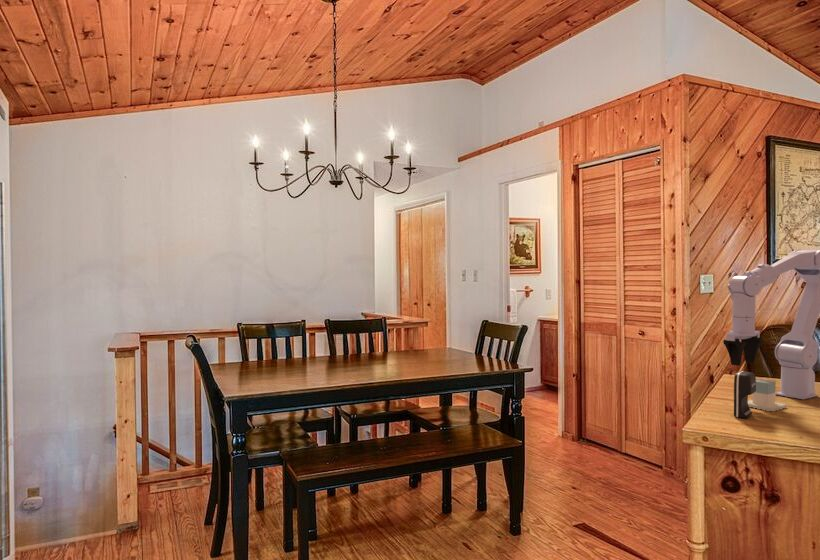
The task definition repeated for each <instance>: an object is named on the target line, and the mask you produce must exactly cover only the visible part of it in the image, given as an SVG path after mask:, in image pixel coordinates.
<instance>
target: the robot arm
mask: <svg viewBox="0 0 820 560" xmlns="http://www.w3.org/2000/svg"><path fill="white" fill-rule="evenodd" d="M791 270H794V271H795V272H796V274H797V275H798V276H799V277H800V278H801V279H803V280H804V282H805V287H804V290H803V293H802V296H801V299H800V302H799V306H798V308H797V311H796V315H795V317H794V321H793V323H792V326H791V330H790V331H789V332H788V333H786V334H784V335H783V336H781V338H780V341H779V343H778V344H777V345H776V346H775V348H774V356H775V359H776V360H777V361H778V364H779V365H780V391H775V396H781V397H787V398H793V399H799V400H807V399H811V398H814V397H815V398H816V397H818V396H819V394H818V393H816V392H815V391H816V374H815V371H814V369H813V366H815V365H816V363H817V361H818V357H819V355H818V353H819V352H818V351H819V347H820V345H819V343H818V342H817V341H816V340H815V339H814V338H813V336H814V333H815V329H816V326H817V323H818V320H819V318H820V249H795V250H794V251H791V252H789V253H788V254H787V255H786V256H783V258H781V259H779V260H777V261H776V262H774V263H773V264H771V265H770V264H767V263H759V264H758V265H757V266H756V268H754V269H752V270H747V271H745V272H744V274H742V275H735V276H733V277H732V278H731V279H730V281H729V283H728V284H727V289H728V292H729V294H730V299H731V301H732V308H731V309H732V312H731V313H732V314H731V316H732V317H731V318H732V321H731V322H732V323H731V326H732V328H731V330H728V331H727V333H726V334H725V335H726V337H725V338H726V339H723V340H722V341H723V344H724V347H725V348H726V351H727V352H728V355H729V360H730V365H731V366H739V367H740V366H741V364H742V358H743V356H744V361H745V363H747V364H748V363H749V364H754V363H755V361H756V358H757V355H758V352H759V349H760V347H761V345H762V344H763V342H764V339H763V338H760V337H761V336H760V335H761V331H760V330H756V296H757V295H759V294H760V293H761V289H763V288H765V287H767V286H769V285H771V284H773V283H774V282H777V279H778V276H780V275H782V274H784V273H787V272H789V271H791ZM743 354H744V355H743Z"/></svg>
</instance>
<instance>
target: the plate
mask: <svg viewBox="0 0 820 560" xmlns="http://www.w3.org/2000/svg"><path fill="white" fill-rule="evenodd" d="M748 406H749V408H750V407H754V408H753V409H755V408H757V409H756V410H760V409H762V410H761V411H765V410H766V411H765V412H770V411H773V412H775V411H776V410H777V411H780V410H784V409H787V404H785V403H781V402H780V403H779V402H776V401H775V404H772V405H768V406H767V405H762V404H757V403H752V399H748ZM783 408H784V409H783ZM779 409H780V410H779Z"/></svg>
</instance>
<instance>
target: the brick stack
mask: <svg viewBox="0 0 820 560" xmlns="http://www.w3.org/2000/svg"><path fill="white" fill-rule="evenodd" d="M775 393H776V381H772V380H766V379H756V391H755V392H754V393H753V394H752V399H751V400H752V403H757V404H762V405H767V406H768V405H772V404H775V402H776V395H775Z"/></svg>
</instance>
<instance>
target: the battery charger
mask: <svg viewBox="0 0 820 560" xmlns="http://www.w3.org/2000/svg"><path fill="white" fill-rule="evenodd" d="M733 379H734V381H733V417H734V418H738V417H739V418H740V419H749V418H750V417H752V415H753V411H752V410H751V408H750V407H749V406H748V401H749V399H748V398H749V397H748V396H751V395H753V393H754V392H755V391H756V380H757V378H756V375H755V373H753V372H750V371H744V370H740V371H738V372H736V373H735V374H734V378H733Z"/></svg>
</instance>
